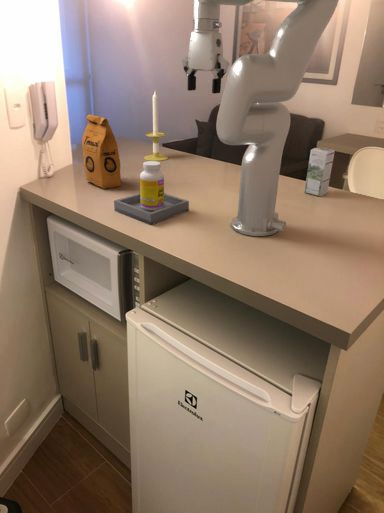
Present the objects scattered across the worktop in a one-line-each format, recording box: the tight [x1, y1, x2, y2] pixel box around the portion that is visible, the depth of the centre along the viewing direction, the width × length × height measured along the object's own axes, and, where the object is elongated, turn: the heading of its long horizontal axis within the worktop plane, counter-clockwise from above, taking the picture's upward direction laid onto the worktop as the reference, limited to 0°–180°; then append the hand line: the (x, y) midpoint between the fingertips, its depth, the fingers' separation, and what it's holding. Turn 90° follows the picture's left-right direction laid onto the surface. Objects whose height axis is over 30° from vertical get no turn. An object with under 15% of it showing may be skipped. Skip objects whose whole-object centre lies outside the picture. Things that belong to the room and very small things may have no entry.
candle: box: [143, 90, 169, 162], centre depth 169 cm, size 10×10×27 cm
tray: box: [113, 192, 190, 226], centre depth 119 cm, size 15×15×3 cm
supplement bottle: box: [139, 160, 165, 211], centre depth 116 cm, size 7×7×13 cm
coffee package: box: [81, 114, 122, 190], centre depth 136 cm, size 10×12×22 cm
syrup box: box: [304, 146, 335, 197], centre depth 135 cm, size 6×6×14 cm
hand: (203, 91), depth 126 cm, fingers open, 9 cm apart
